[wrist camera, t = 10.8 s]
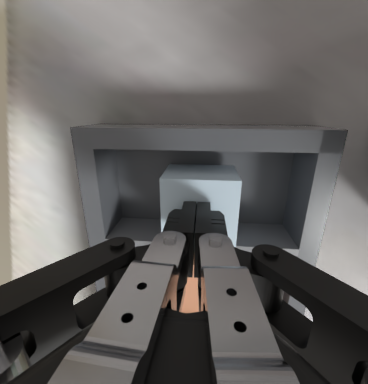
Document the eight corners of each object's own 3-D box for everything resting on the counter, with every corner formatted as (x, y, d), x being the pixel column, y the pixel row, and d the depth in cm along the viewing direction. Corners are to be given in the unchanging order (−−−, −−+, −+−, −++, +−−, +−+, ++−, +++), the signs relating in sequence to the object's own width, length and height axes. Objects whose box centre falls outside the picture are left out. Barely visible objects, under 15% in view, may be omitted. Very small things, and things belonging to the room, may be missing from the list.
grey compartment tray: (316, 125, 15) (348, 130, 12) (266, 382, 24) (276, 427, 20) (98, 124, 16) (70, 127, 13) (127, 368, 25) (115, 408, 22)
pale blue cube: (234, 165, 15) (242, 181, 12) (229, 223, 17) (235, 252, 13) (169, 163, 16) (159, 178, 12) (170, 221, 17) (161, 248, 14)
